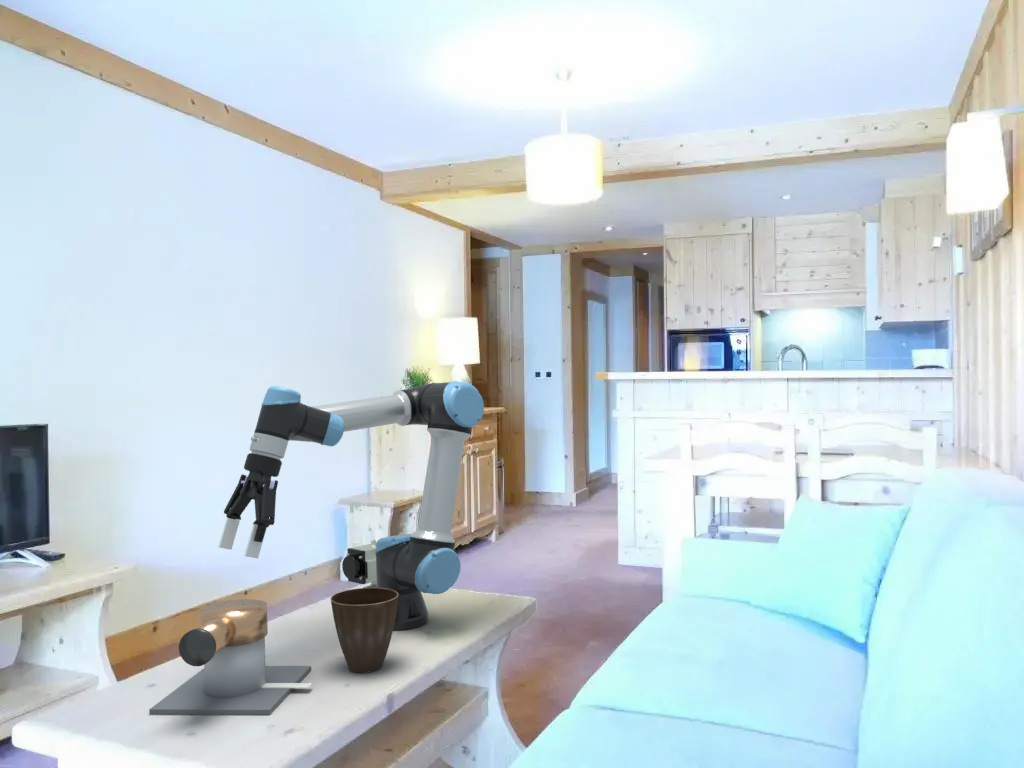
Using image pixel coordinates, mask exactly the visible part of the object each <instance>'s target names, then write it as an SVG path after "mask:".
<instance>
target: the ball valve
mask: <svg viewBox="0 0 1024 768" xmlns="http://www.w3.org/2000/svg"><path fill="white" fill-rule="evenodd" d="M376 543H377V540H376V539H371V540H370V543H368V544H363V545H359V546H354V547H350V548H347V553H346V556H345V557H344V558H343V560H342V565H341V566H342V567H341V568H342V572H343V574H344V576H345V578H347V579H348V582H351V583H355V584H360V585H366V584H369V585H366V586H363V587H362V588H377V571H376V554H375V552H376Z"/></svg>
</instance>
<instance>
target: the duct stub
mask: <svg viewBox="0 0 1024 768" xmlns="http://www.w3.org/2000/svg"><path fill="white" fill-rule="evenodd" d="M203 666H204V667H203V668H202V669H201V670H200V671H198V672H197V673H196V674H194V675H193V676H192V677H190V678H189V679H188V680H186V681H185V682H184V683H181V685H180V686H179V687H177V688H176V689H174V690H173V691H172V692H171V693H169V694H168V695H166V696H165V697H164V698H162V699H161V700H160V701H158V702H157V703H156V704H155V705H153V706H152V707H150V708H149V710H148V711H149V712H148V713H149V714H152V716H153V715H154V714H184V715H185V714H197V715H196V716H198V715H199V714H200V715H199V716H204V715H205V716H221V715H222V716H271V715H272V713H273V712H274V711H275V710H276V709H277V708H278V707H279V706H280V705H281V704H282V703H283V702H284V701H285V699H286V698H287V697H288V696H289V695H290V694H292V692H293V691H294V689H310V688H311V687H312V686H313V684H314V683H313V682H302V681H303V680H304V679H305V678H306V677H307V676H308V675H309V673H311V671H312V665H267V664H266V636H265V637H264V638H262V639H260V640H258V641H255V642H252V643H248V644H243V645H238V646H229V647H224V648H223V649H221V650H220V651H219V652H217V653H216V654H215V655H214V656H213V658H212V659H211V660H210V661H209V662H207V663H206V664H204V665H203ZM184 715H183V716H184ZM154 716H155V715H154Z"/></svg>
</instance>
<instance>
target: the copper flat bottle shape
mask: <svg viewBox="0 0 1024 768" xmlns="http://www.w3.org/2000/svg"><path fill="white" fill-rule="evenodd" d="M268 626H269V625H268V603H267V602H266V601H264V600H262V599H261V600H260V599H252V598H250V599H249V598H248V599H247V598H242V599H231V600H225V601H221V602H220V601H219V602H216V603H215V602H214V603H212V604H209V605H207V606H204V607H202V608H201V609H200V610H199V627H197V628H193V629H190V630H188V631H187V632H186V633H184V634H183V636H182V637H181V638H180V640H179V644H178V652H179V656H180V658H181V659H182V660H183V661H184V662H185V663H186V664H188V665H190V666H192V667H202V666H204V664H206V663H207V662H209V661H210V660H211V659H212V658H213V656H214V655H215V654H216V653H217V652H219V651H220V650H221V649H223V648H224V647H229V646H238V645H243V644H248V643H252V642H255V641H258V640H260V639H262V638H264V637H265V638H266V637H267V636H268V630H269V628H268Z"/></svg>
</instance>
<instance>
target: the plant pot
mask: <svg viewBox="0 0 1024 768" xmlns="http://www.w3.org/2000/svg"><path fill="white" fill-rule="evenodd" d="M330 604H331V610H332V616H333V621H334V626H335V627H334V628H335V630H336V634H337V638H338V641H339V644H340V648H341V651H342V654H343V657H344V660H345V662H346V664H347V667H348V669H349V670H350V672H354V673H359V674H361V673H365V674H366V673H372V672H376V671H378V670H380V669H382V667H383V666H384V663H385V659H386V657H387V653H388V651H389V647H390V644H391V643H390V642H391V639H392V636H393V631H394V630H393V628H394V623H395V617H396V611H397V604H398V592H396V591H394V590H391V589H386V588H363V587H359V588H353V589H348V590H343V591H340V592H336V593H334V594H333V595H332V596H331V597H330Z"/></svg>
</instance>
